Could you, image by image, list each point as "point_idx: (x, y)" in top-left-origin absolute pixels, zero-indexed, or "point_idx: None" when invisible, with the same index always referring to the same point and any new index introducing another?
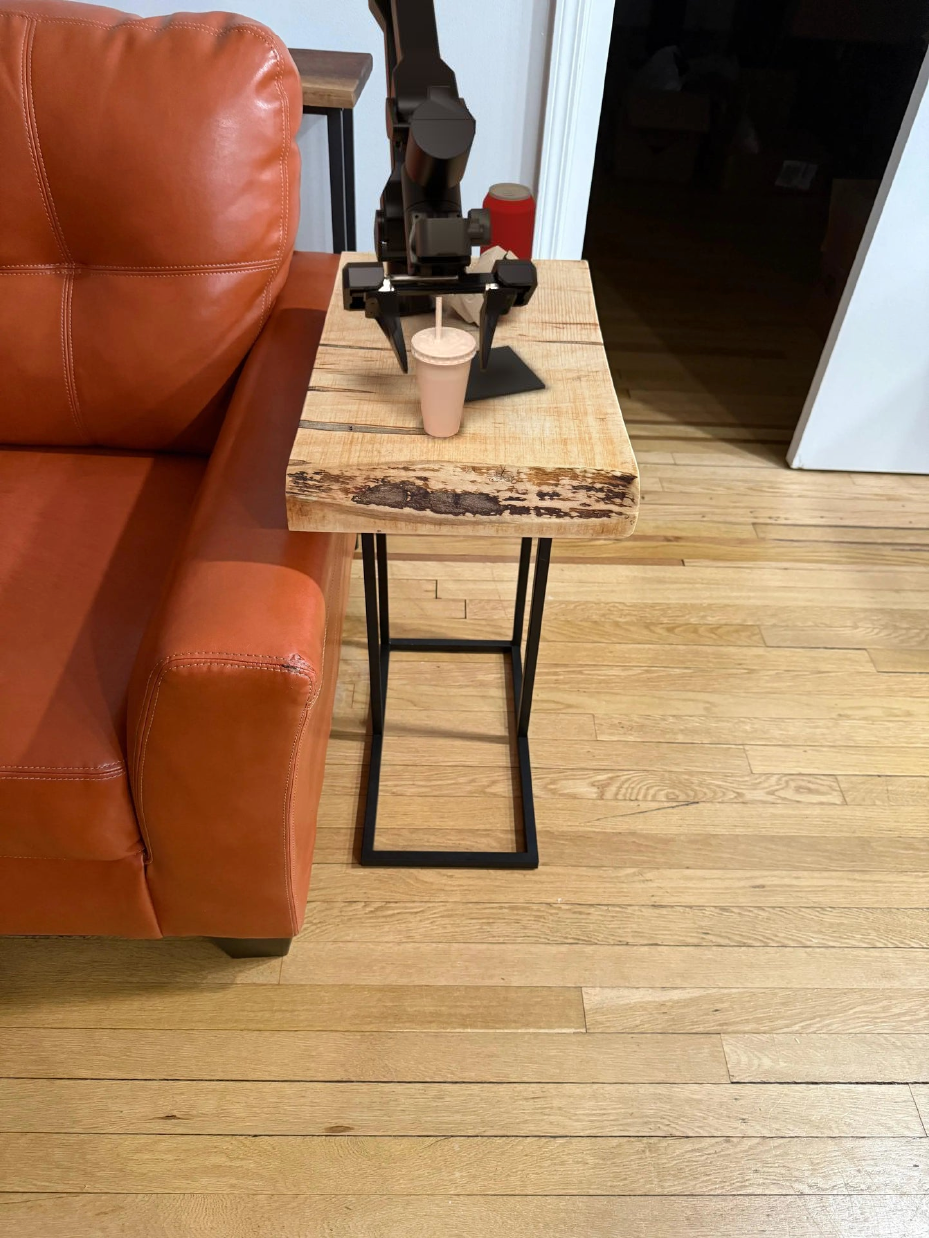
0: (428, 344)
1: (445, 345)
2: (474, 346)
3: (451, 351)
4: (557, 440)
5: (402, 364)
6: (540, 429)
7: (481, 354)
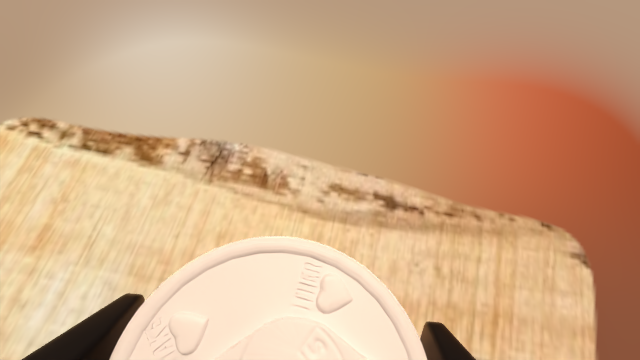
0: (359, 355)
1: (276, 329)
2: (132, 320)
3: (258, 287)
4: (52, 247)
5: (454, 337)
6: (64, 300)
7: (113, 333)
